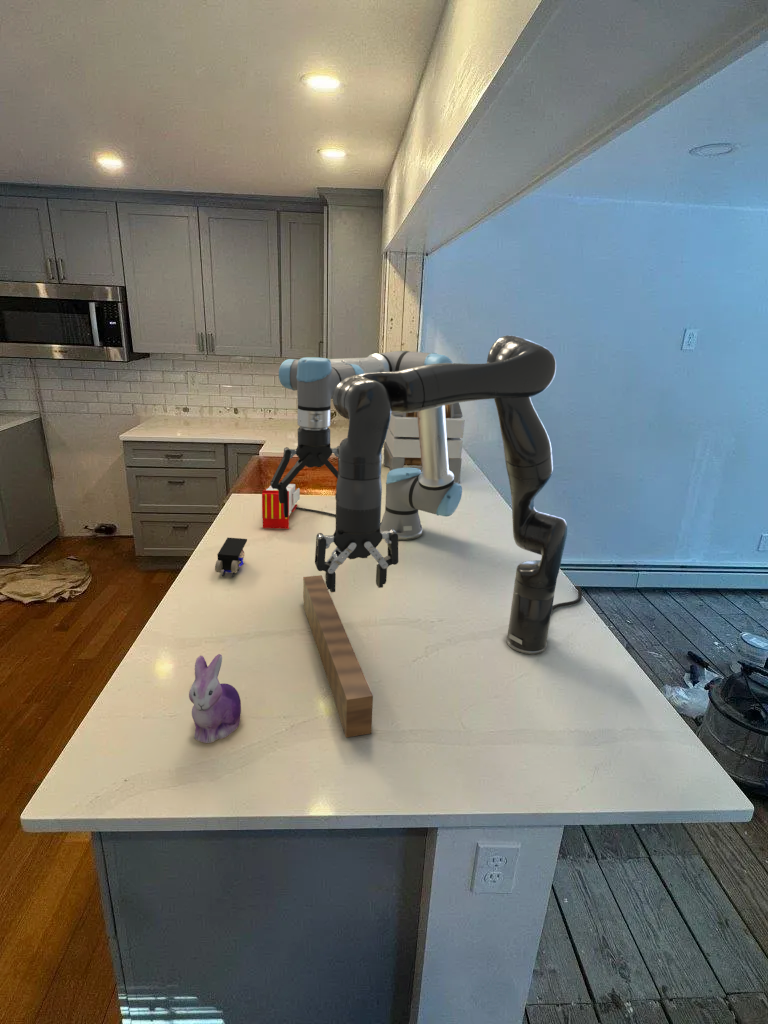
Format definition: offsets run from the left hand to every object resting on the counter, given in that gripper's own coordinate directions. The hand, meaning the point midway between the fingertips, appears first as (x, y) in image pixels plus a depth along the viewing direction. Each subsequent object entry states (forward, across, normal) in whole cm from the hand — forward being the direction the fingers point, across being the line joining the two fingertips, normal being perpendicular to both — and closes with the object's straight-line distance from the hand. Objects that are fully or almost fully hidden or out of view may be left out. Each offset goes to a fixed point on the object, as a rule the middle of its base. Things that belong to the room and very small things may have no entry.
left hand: (313, 513), depth 138 cm
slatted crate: (+27, +73, +120) cm, 143 cm away
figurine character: (+27, -19, +29) cm, 44 cm away
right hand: (-1, 0, -42) cm, 42 cm away
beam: (+27, 0, -21) cm, 34 cm away
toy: (+27, 0, +72) cm, 77 cm away
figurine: (+27, -25, -38) cm, 53 cm away
